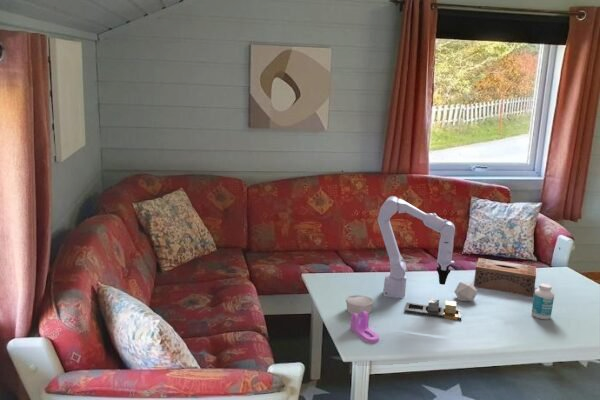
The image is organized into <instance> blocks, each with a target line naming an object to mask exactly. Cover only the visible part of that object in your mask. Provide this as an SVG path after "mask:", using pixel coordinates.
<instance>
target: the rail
mask: <svg viewBox="0 0 600 400" xmlns="http://www.w3.org/2000/svg"><path fill="white" fill-rule="evenodd" d="M428 305H429V304H428ZM428 305H427V304H419V303H414V302H405V309H404V313H405V314H412V315H418V316H419V315H420V316H424V317H425V316H427V317H432V318H440V319H448V320H453V321H461V322H462V309H457V308H456V312H455V316H454V315H447V314H445V307H441V306H439V309H438V313H433V312H428Z"/></svg>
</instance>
